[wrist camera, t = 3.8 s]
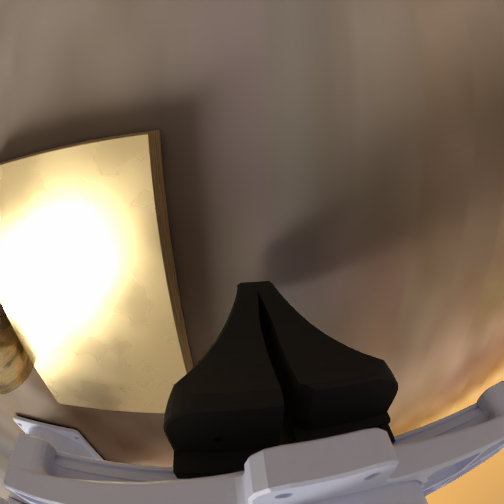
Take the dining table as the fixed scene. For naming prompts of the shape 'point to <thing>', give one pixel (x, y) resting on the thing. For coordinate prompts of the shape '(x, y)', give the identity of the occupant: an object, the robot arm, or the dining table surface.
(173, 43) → the dining table surface
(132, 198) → the plate
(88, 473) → the robot arm
